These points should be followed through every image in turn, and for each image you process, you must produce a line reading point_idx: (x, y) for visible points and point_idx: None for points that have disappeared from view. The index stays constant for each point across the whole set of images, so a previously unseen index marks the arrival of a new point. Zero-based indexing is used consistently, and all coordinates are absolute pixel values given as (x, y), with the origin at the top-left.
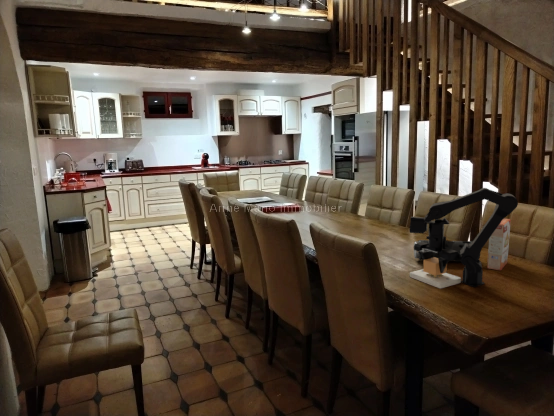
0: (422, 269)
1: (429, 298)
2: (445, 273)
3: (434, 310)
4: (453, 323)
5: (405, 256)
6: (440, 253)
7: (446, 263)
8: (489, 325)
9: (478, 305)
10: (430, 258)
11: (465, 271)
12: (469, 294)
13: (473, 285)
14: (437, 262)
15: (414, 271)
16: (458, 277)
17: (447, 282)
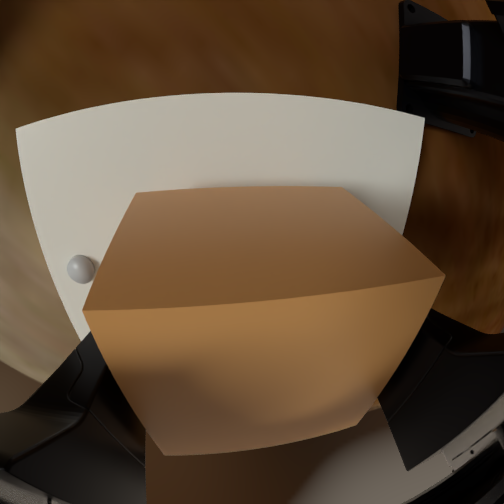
0: (47, 245)
1: None
2: (266, 117)
3: None
4: None
5: None
6: (435, 496)
7: (444, 329)
8: (493, 329)
9: (488, 284)
10: (139, 402)
11: (494, 122)
12: (468, 238)
13: (469, 129)
14: (352, 407)
15: (80, 329)
16: (409, 125)
17: None
